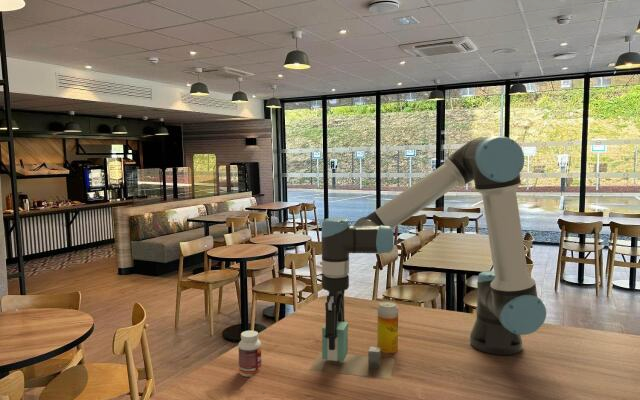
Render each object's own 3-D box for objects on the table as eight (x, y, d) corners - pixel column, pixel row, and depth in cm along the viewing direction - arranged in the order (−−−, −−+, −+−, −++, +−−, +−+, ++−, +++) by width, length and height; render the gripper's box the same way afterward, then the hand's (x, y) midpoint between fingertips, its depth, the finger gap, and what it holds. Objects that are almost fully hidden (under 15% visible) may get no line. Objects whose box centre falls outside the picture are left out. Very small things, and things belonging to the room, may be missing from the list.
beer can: (397, 357, 138) (397, 308, 136) (376, 355, 139) (376, 306, 137) (398, 348, 144) (398, 301, 142) (378, 347, 145) (378, 300, 143)
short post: (380, 364, 130) (380, 347, 130) (379, 369, 128) (379, 352, 127) (369, 363, 131) (370, 346, 131) (368, 368, 128) (368, 351, 128)
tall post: (341, 360, 133) (341, 330, 132) (339, 365, 130) (339, 334, 129) (331, 359, 134) (331, 329, 133) (329, 364, 131) (329, 333, 130)
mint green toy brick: (347, 351, 134) (347, 322, 133) (343, 361, 128) (343, 330, 127) (327, 349, 136) (327, 320, 135) (322, 358, 130) (322, 328, 129)
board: (394, 363, 134) (395, 359, 134) (390, 383, 123) (390, 379, 122) (320, 355, 140) (320, 351, 140) (309, 373, 128) (309, 369, 128)
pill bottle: (262, 376, 127) (262, 337, 126) (239, 378, 126) (238, 339, 124) (260, 365, 133) (259, 328, 132) (238, 368, 132) (237, 330, 130)
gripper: (330, 265, 139) (330, 339, 142) (312, 282, 121) (313, 368, 124) (355, 266, 138) (354, 342, 140) (341, 284, 119) (341, 371, 122)
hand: (335, 354), depth 132 cm, fingers closed on mint green toy brick, 6 cm apart
